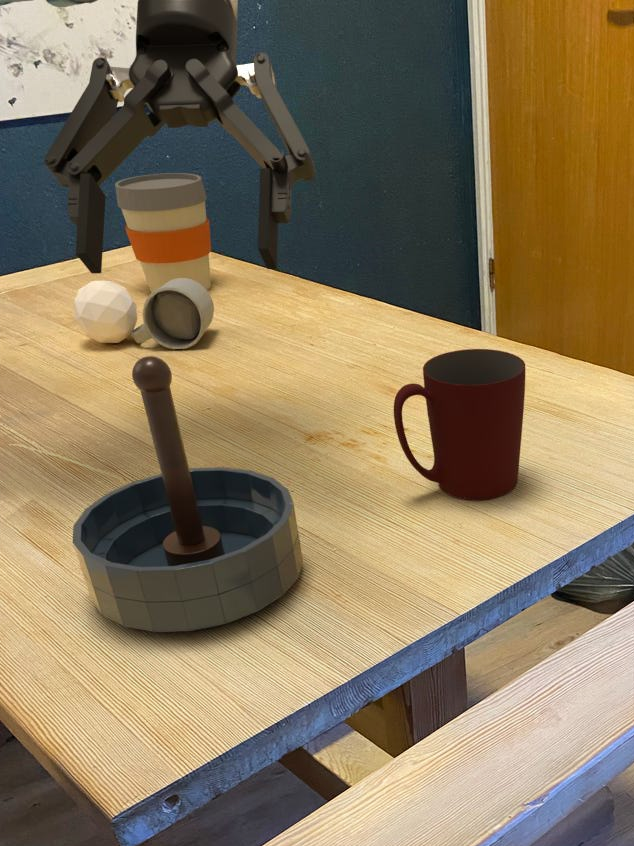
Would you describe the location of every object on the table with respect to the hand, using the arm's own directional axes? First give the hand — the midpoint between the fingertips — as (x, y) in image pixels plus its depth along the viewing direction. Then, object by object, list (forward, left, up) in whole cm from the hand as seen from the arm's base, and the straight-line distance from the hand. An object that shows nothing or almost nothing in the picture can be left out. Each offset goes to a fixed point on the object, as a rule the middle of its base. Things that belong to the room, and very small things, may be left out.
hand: (177, 262), depth 70 cm
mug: (+18, +11, -22) cm, 30 cm away
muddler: (+3, -10, -21) cm, 23 cm away
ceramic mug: (-32, +41, -22) cm, 56 cm away
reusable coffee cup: (-45, +63, -22) cm, 80 cm away
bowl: (+3, -10, -22) cm, 24 cm away
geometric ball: (-39, +39, -22) cm, 60 cm away
